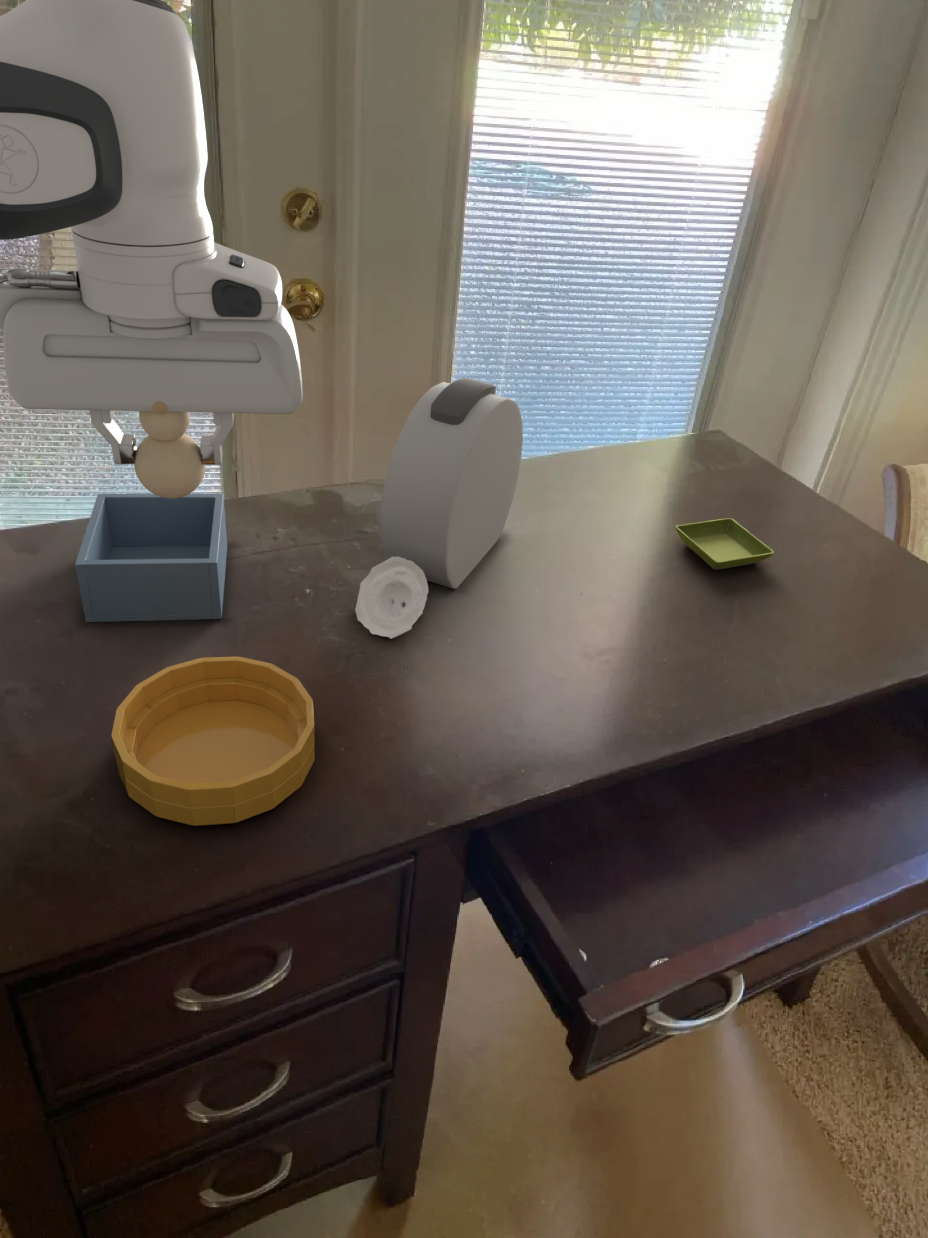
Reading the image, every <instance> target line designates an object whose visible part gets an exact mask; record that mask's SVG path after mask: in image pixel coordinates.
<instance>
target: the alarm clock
mask: <svg viewBox="0 0 928 1238" xmlns="http://www.w3.org/2000/svg"><path fill="white" fill-rule="evenodd" d="M496 389H497V387H496V386H495V385H494V384H493V383H490V382H485V381H483V380H479V379H478V380H477V379H473V378H469V377H462V378H458V379H456V380H453V382H446V381H442V382H440V383H438V384H435V385H433V386H431V387H430V388H429V389H428V390H427V391H426V392H425V393H424V394H423V395H422V396H421V397H420V398H419V399H418V401H417V403H416V405H414V408H413V409H412V410H411V412H410V414H409V415H408V417H407V419H406V421H405V423H404V425H403V427H402V430H401V432H400V434H399V436H398V438H397V440H396V443H395V446H394V449H393V451H392V455H391V458H390V461H389V465H388V467H387V472H386V477H385V481H384V487H383V491H382V495H381V505H380V507H381V508H380V515H379V532H380V536H379V537H380V538H379V539H380V544H381V549H382V554H383V558H384V559H385V561H386V560H388V559H389V558H391V557H401V558H402V559H403V558H405V559H406V560H411V561H413V562H414V563H415V564H416V565H417V566H419V567H420V569H422V570H423V572H424V575H425V577H426V580H427V582H430V583H434V584H437V585H440V586H443V587H446V588H449V589H453V590H457V589H458V588H459V587H460V585H461V584H462V583H463V582H464V581H465V580H466V578H467V577H468V576H469V575H470V574H471V572H472V571H473V570H474V569H475V568H476V567H477V565H478V564H479V563H480V562H481V561H482V560H483V558H484V557H485V556H486V555H487V554H488V553H489V551H490V550H491V549H492V548H493V547H494V546H495V544H496V543H497V542H498V540H500V538H501V535H502V532H503V530H504V528H505V525H506V522H507V519H508V516H509V513H510V510H511V507H512V503H513V500H514V497H515V492H516V488H517V484H518V479H519V473H520V470H521V469H520V468H521V463H522V453H523V444H524V423H523V418H522V412H521V408H520V407H519V405H518V404H517V402H516V401H515V400H514V398H511V397H505V396H502V395H498V394H496Z"/></svg>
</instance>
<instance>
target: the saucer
mask: <svg viewBox="0 0 928 1238" xmlns="http://www.w3.org/2000/svg"><path fill="white" fill-rule="evenodd" d="M674 528H675V530H676V532H677V535H678V537H679V538H680V540H681V541H682V542H683V543H684V545H686V546H687V548H689V549H690V550H691V551H693V552H694V553H695V554H696V555H697V556H698V557H699V558H701V560H703V562H705V563H706V564H707V565H708V566H709V567H710V568H712V569H713V570H715V571H717V570H718V571H719V570H723V569H730V568H737V567H741V566H746V565H753V564H757V563H760V562H762V561H765V560H766V559H768V558H770V557H772V556H773V555H774V554H775V551H774V550H773V549H772V548H771V547H770V546H768V545H767V544H765V542H763V541H762V540H761V539H759V538H757V537H756V536H755V535H754V534H753V533H752V532H750V531H749V530H748V529H746V528H745V527H744V526H743V525H741V524H740V523H739V522H738V521H736V520H735V519H733V518H731V517H726V518H725V517H724V518H719V519H711V520H705V521H699V522H692V523H691V522H690V523H684V524H683V523H682V524H678V525H675V526H674Z"/></svg>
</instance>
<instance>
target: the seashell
mask: <svg viewBox="0 0 928 1238" xmlns="http://www.w3.org/2000/svg"><path fill="white" fill-rule="evenodd" d="M370 569H371V570H370V572H369V573H368V574H367V576H365V577H364V579H362V581H360V584H359V590H358V595H357V600H356V604H355V608H354V611H355V615H356V619H357V622H360V623H361V624H362V627H364V628H366V629H367V630H368V631H369V633H370V634H372V635H376V636H379V637H383V638H384V637H386V638H389V639H390V640H391V639H393V638H396V637H398V636H401V635H403V634H405V633H407V632H409V631H411V630H413V625H414V624H415V623H416V622H417V621H418V619H419V618H420V617H421V616H422V615H423V614H424V612H423V611H424V610H425V606H426V602H427V600H428V597H427V596H428V594H429V585H428V580H426V577H425V575H424V572H423V570H422V569H420V567H419V566H417V565H416V564H415V563H414V562H413V561H411V560H406V559H405V558H403V559H402V558H401V557H391V558H389V559H388V560H386V559H385V560H384V561H382V562H381V563H379V564H376V565H375V566H373V567H371V568H370Z"/></svg>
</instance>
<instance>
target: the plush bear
mask: <svg viewBox="0 0 928 1238" xmlns="http://www.w3.org/2000/svg"><path fill="white" fill-rule="evenodd" d="M152 409H153V411H154V412H149V411H138V419H139V424H140V426H141V428H142V429H143V431H144V432H145V433H146V434H147V436H145V438H143V439H142V440H141V441H140V443H139V444H138V446H137V447H136V448H137V450H136V453H135V464H133V467H134V471H135V473H136V474H135V475H136V477H137V479H138V481H139V482H140V484H141V485H142V486H143V487H144V488H145V489H146V490H147V491H148V492H150V494H155V495H157V496H160V497H163V498H171V499H173V498H180V497H184V496H186V495H188V494H192V493H193V492H194V491H196V489H198V487H200V485H201V484H202V482H203V479H204V477H205V474H206V465H203V464H202V462H201V457H202V454H201V452H200V444H199V443H197V442H196V440H195V439H193V437H191V436H190V435H188V434H186V432H187V431H188V429H189V426H190V423H191V414H190V413H191V412H168V408H167V405H166V404H165V403H164V402H162V401H156V402H154V404H153V405H152Z"/></svg>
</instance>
